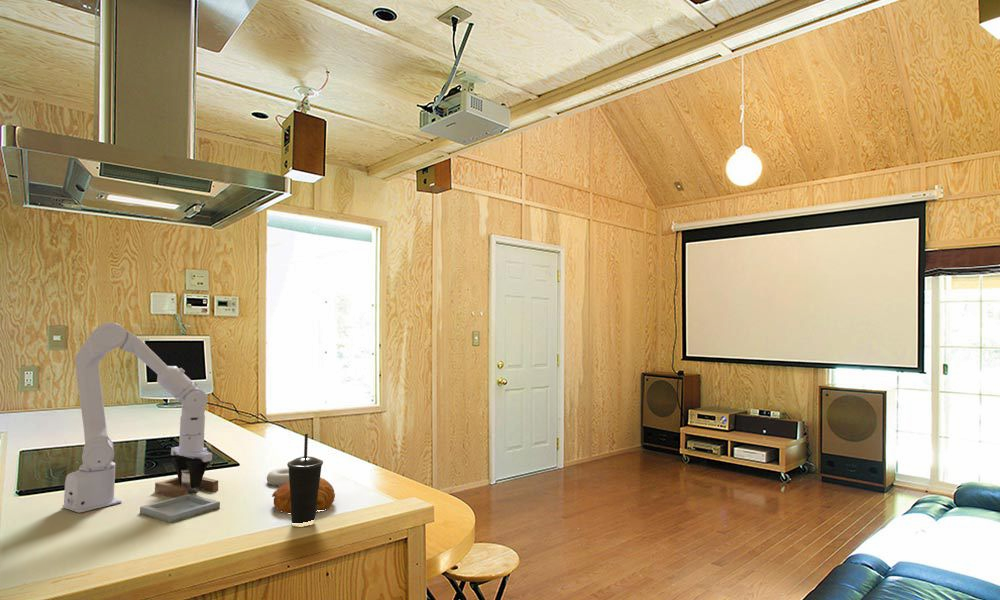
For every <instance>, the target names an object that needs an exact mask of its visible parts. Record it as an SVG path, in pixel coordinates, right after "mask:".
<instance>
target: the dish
mask: <svg viewBox="0 0 1000 600" xmlns="http://www.w3.org/2000/svg"><path fill="white" fill-rule="evenodd" d="M220 507H221V502H220V501H219V500H216V499H215V500H214V499H211V498H208V497H203V496H199V495H195V494H187V495H183V496H179V497H175V498H173V497H170V498H168V499H164V500H161V501H157V502H153V503H150V504H146V505H141V506H139V514H142V515H144V516H147V517H150V518H155V519H157V520H161V521H162V522H163V521H164V522H166V523H170V524H171V523H174V522H178V521H183V520H185V519H189V518H192V517H194V515H195V516H198V515H197V514H199V515H201V513H202V514H205V513H209V512H211V510H212V511H214V509H215V510H218V509H220ZM217 508H218V509H217ZM208 511H209V512H208ZM188 517H189V518H188Z"/></svg>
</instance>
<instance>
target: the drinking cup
mask: <svg viewBox="0 0 1000 600" xmlns="http://www.w3.org/2000/svg"><path fill="white" fill-rule="evenodd" d="M308 439H309V434H308V433H305V434H304V445H303V447H304V449H303V450H304V451H303V456H299V457H296V458H294V459H292V460H290V461H288V462H287V463H286V466H287V468H289V483H290V501H291V516H290V519H291V524H292V523H303V522H308V521H311V520H314V519H315V520H316V514H317V512H316V506H317V498H318V490H319V482H320V478H321V474H322V466H323V464H324V461H323V460H322V459H319V458H317V457H314V456H308V445H309V444H308V443H309V441H308Z"/></svg>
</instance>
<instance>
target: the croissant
mask: <svg viewBox="0 0 1000 600" xmlns="http://www.w3.org/2000/svg"><path fill="white" fill-rule="evenodd" d="M271 495H272V496H271V497H272V498H273V505H274V507H275V508H276V510H278V511H279V512H280V511H282V512H281V513H284V512H285V513H284V514H287V513H291V501H290V483H289V482H287V483H285V484H283V485H281V486H278V488H277V489H276V490H275V491H274V492H273V493H272V494H271ZM335 499H336V493H335V489H334V487H333V485H332V484H331V483H330V482H329V481H327V480H326V479H325V478H322V477H320V482H319V490H318V498H317V506H316V511H317V510H325V509H327V508H329V507H330V508H331V507H332V505H333V504H334V502H335ZM330 508H329V509H330ZM327 510H328V509H327Z"/></svg>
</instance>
